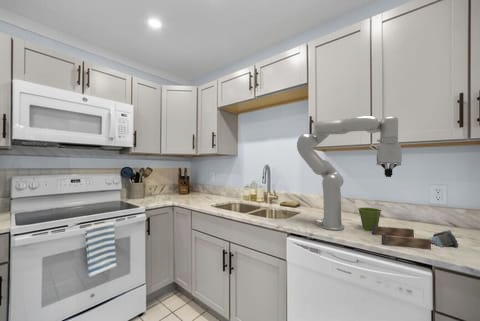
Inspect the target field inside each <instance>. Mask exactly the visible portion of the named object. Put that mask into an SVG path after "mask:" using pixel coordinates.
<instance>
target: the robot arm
mask: <svg viewBox="0 0 480 321" xmlns="http://www.w3.org/2000/svg"><path fill="white" fill-rule="evenodd" d="M351 132H366V133H368V134H375V133H379V134H380V135H379V138H377V139H376V142H379V144H378V146H377V151H376V165H377V166H378V167H379V166H380V167H382V168H383V169H384V176H385V178H391V177H392V176H393V169H394V168H396V167H399V166H402V161H403V156H402V154H403V153H402V148H401V143H399V118H398V117H397V116H386V117H382V118H381V119H379V118H377V117H376V116H371V115H369V116H353V117H349V118H342V119H329V120H328V119H327V120H326V119H325V120H319V121H318V122H316V124H315V125H314V131H313V132H312V133H303V134H300V136H299V137H298V139H297V141H296V142H297V143H296V150H297V152H298V154H299V156H300V157H301V159H303V160H304V162H305V163H306V164H307V166H308V167H309V168H310V169H311V170H312V172H313V173H314V174H316V175H317V176H321V178H323V179H322V182H321V184H322V185H321V186H322V193H323V195H322V196H323V197H322V198H323V199H322V201H323V217H322V218H321V219H319V218H316V219H315V223H317V224H320V227H321V228H323V229H324V230H325V229H326V230H329V231H343V230H344V229H345V225H343V224H342V194H341V187H342V186H343V184H344V177H343V176H342V174H340V172H339V171H338V170H337V169H336V168H335V167H334V165H332V164H331V163H330V161H328V160H325V159H322V156H321V157H320V155H319V154H318V153H317V152H316V151H315V150H314V149H313V148H316V147H317V146H319V145H320V144H321V143H322V142H323V141H324V140H326V139H327V138H328V137H329V136H330V135H345V134H348V133H351ZM388 164H389V165H388Z"/></svg>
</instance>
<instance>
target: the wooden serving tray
mask: <svg viewBox="0 0 480 321" xmlns="http://www.w3.org/2000/svg"><path fill="white" fill-rule="evenodd" d="M414 232H415V231H414V229H413V228H406V227H404V228H403V227H395V226H394V227H393V226H392V227H391V226H379V225H378V226H375V225H374V224H372V231H371V234H372V235H377V236H381V245H383V246H391V247H392V246H393V247H400V248H410V249H411V248H413V249H422V250H424V249H425V250H432V243H431V240H430V239H428V238H421V237H415V233H414Z"/></svg>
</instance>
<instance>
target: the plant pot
mask: <svg viewBox="0 0 480 321" xmlns="http://www.w3.org/2000/svg"><path fill="white" fill-rule="evenodd" d="M357 210H358V213H359V216H360V221H361V225H362V229H364V230H366V231H370V232H372V224H374V225H375V226H379V222H380V217H381V214H382V212H383V211H382V209H380V208H376V207H375V208H374V207H358V208H357Z"/></svg>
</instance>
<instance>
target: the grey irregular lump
mask: <svg viewBox="0 0 480 321" xmlns="http://www.w3.org/2000/svg"><path fill="white" fill-rule="evenodd" d="M427 239H430V240H431V244H435V245H436V247H442V248H446V247H448V246H449V247H450V246H452V247H455V248H459V242H458V240H457V239H456V236H455V235H454V234H453V233H452V231H451V230H443V231H441V232H437V233H436V232H435V233H433V236H432V237H429V238H427Z"/></svg>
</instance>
